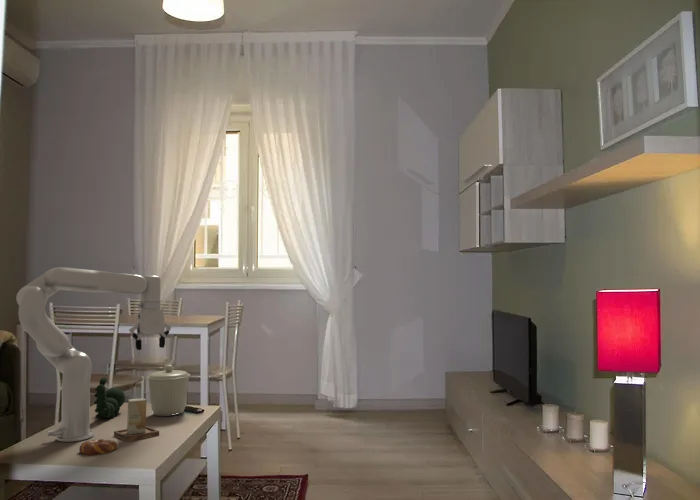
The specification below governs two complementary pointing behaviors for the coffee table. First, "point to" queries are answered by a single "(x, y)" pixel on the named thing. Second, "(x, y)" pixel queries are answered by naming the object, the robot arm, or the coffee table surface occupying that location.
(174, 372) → the canister
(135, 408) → the skincare box
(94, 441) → the pretzel
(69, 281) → the robot arm
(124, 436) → the wooden tray
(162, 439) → the coffee table surface
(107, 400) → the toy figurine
